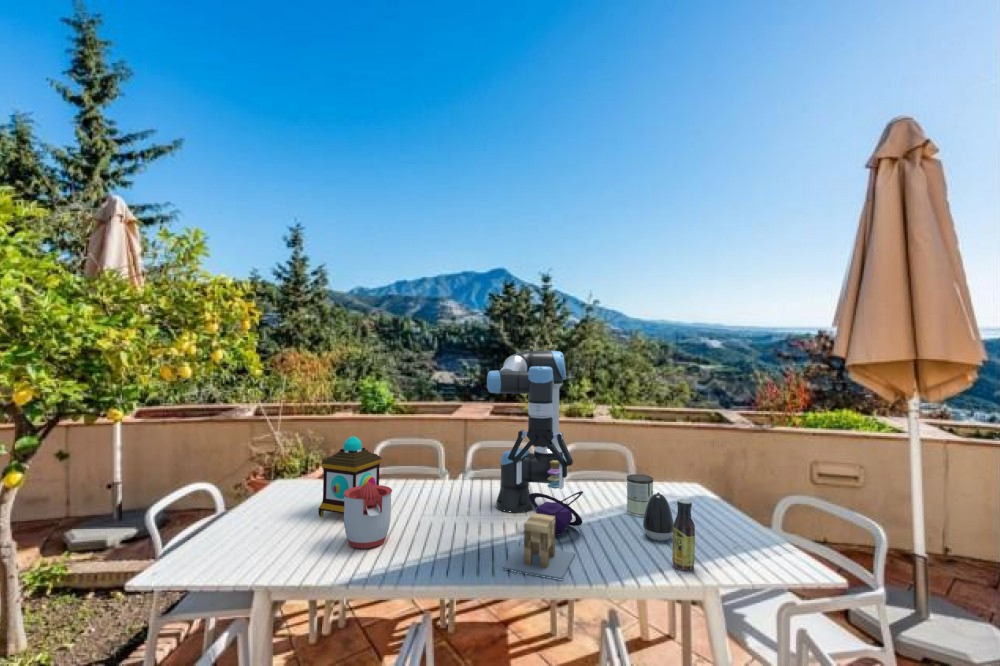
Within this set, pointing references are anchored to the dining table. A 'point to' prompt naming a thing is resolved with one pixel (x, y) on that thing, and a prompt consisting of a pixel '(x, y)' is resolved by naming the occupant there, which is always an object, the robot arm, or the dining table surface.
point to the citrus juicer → (367, 515)
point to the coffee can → (638, 493)
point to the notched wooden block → (539, 538)
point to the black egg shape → (658, 518)
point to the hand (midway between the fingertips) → (539, 485)
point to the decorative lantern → (347, 474)
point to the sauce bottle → (684, 537)
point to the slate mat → (554, 569)
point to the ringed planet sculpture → (557, 509)
